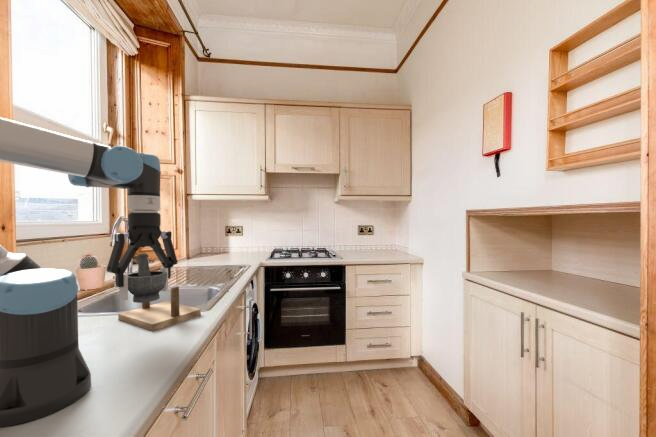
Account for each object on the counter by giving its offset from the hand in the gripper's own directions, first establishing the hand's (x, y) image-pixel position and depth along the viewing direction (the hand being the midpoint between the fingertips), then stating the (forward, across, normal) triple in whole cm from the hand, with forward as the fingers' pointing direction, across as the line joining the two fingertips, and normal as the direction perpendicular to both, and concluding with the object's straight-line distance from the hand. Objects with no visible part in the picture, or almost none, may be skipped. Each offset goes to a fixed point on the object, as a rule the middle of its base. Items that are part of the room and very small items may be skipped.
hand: (145, 294), depth 83 cm
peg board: (+12, +13, +15) cm, 23 cm away
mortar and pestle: (+1, 0, 0) cm, 1 cm away
